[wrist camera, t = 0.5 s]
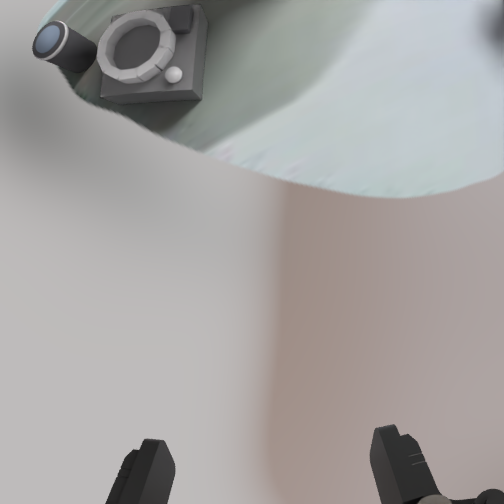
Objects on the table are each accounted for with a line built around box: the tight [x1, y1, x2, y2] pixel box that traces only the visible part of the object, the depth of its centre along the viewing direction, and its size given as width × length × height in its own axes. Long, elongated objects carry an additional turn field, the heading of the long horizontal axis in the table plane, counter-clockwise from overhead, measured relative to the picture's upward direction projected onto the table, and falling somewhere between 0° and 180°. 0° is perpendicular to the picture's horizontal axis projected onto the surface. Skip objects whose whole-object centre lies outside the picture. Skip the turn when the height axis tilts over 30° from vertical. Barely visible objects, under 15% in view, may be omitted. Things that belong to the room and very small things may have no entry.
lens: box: [32, 21, 97, 73], centre depth 27 cm, size 5×5×8 cm
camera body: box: [97, 4, 208, 105], centre depth 28 cm, size 10×10×7 cm
